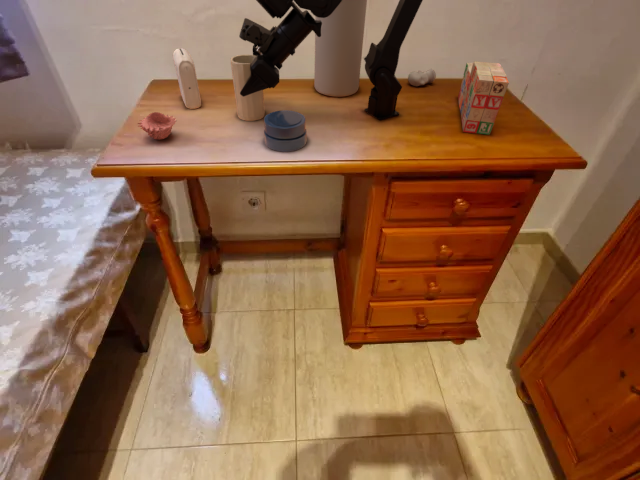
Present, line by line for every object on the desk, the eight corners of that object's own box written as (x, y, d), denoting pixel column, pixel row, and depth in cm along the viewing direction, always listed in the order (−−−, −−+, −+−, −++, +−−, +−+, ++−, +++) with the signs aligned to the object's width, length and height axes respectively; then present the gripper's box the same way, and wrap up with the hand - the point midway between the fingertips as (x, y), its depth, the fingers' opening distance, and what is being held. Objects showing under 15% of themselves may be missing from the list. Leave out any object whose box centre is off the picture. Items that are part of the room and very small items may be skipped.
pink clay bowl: (144, 130, 85) (136, 106, 81) (181, 128, 86) (175, 104, 83) (140, 147, 79) (131, 122, 76) (179, 144, 81) (173, 119, 77)
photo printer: (203, 107, 95) (193, 55, 87) (186, 110, 94) (174, 57, 85) (196, 93, 102) (187, 43, 93) (180, 95, 100) (169, 44, 92)
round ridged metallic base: (293, 128, 88) (293, 105, 84) (314, 145, 82) (314, 121, 78) (257, 137, 84) (255, 114, 80) (276, 155, 78) (275, 131, 75)
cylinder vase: (334, 78, 113) (340, -23, 96) (367, 89, 107) (379, -16, 90) (305, 88, 106) (305, -18, 89) (337, 101, 100) (344, -10, 83)
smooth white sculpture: (409, 91, 109) (404, 80, 112) (435, 89, 111) (429, 78, 113) (413, 78, 106) (408, 67, 108) (440, 77, 107) (434, 65, 109)
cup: (257, 107, 96) (252, 52, 87) (269, 117, 92) (265, 61, 83) (233, 112, 93) (225, 57, 84) (244, 123, 89) (237, 65, 80)
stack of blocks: (457, 97, 104) (470, 49, 96) (480, 99, 103) (495, 51, 95) (462, 132, 88) (479, 78, 80) (490, 135, 88) (509, 81, 79)
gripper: (261, -5, 84) (218, 49, 90) (258, 15, 70) (208, 76, 77) (296, 35, 90) (254, 82, 96) (301, 60, 76) (251, 113, 83)
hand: (242, 87), depth 88 cm, fingers open, 9 cm apart
